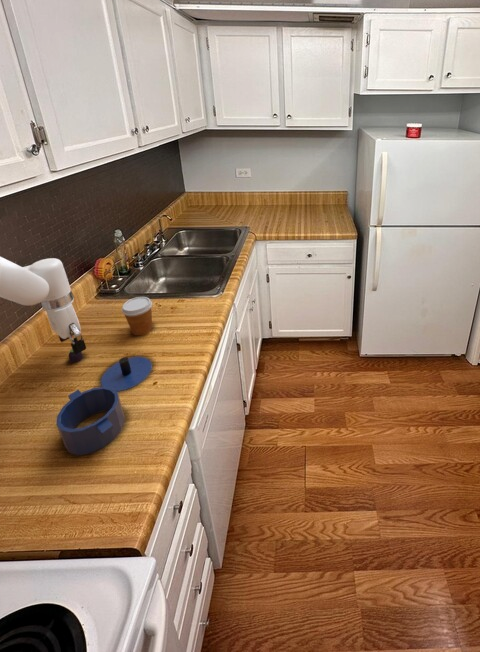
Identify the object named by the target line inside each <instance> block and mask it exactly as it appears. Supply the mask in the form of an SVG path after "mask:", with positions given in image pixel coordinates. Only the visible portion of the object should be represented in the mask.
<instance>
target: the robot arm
mask: <svg viewBox="0 0 480 652" xmlns="http://www.w3.org/2000/svg"><path fill="white" fill-rule="evenodd" d="M0 298H1V299H5V300H7V301H11V302H13V303H16V304H18V305H22V306H27V307H28V306H29V307H30V306H35V305H38V304H41V307H42V309H43V311H46V316H47V318H48V322H49V325H50V329H51V330H52V331H53V332H54V333H55V334H56V335H57V336H58V338H59V341H60V342H61V343H63V342H65V341H67V340H69V341H70V342H71V343H70V347H71V349H73V352H74V354H75V355H76V354H78V353H80V352H82V353H83V352H84V351H86V350H87V345H86V342H85V339H84V336H83V335H82V332H81V331H82V328H81V327H82V326H81V324H80V321H79V318H78V315H77V313H76V310H75V308H74V306H73V303H74V301H75V297H74V294H73V291H72V288H71V285H70V283H69V279H68V276H67V273H66V270H65V266H64V264H63V262H62V260H61V259H59V258H54V257H50V258H44V259H40V260H37V261H35V262H33V263H32V264H30V265H26V266H21V265H19V264H17V263H14V262H13V261H11V260H9V259H6V258H4V257H3V256H0ZM73 336H74V337H73Z"/></svg>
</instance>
